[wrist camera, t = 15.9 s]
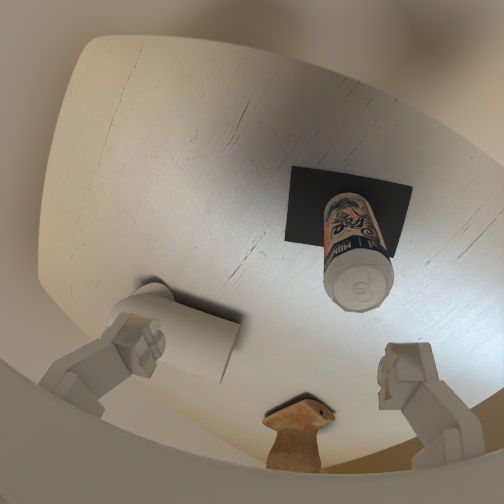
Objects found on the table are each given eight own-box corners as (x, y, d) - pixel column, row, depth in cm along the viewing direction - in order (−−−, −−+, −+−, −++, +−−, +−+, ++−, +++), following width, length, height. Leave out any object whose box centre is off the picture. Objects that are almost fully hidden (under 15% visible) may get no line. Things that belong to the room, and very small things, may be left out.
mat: (284, 240, 30) (284, 240, 30) (291, 165, 26) (291, 166, 26) (393, 256, 28) (393, 257, 28) (412, 186, 24) (412, 187, 24)
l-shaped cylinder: (152, 242, 33) (103, 311, 43) (120, 311, 25) (81, 363, 35) (263, 311, 40) (189, 357, 50) (260, 379, 32) (179, 408, 42)
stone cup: (300, 432, 53) (289, 492, 41) (256, 414, 52) (238, 478, 39) (352, 411, 45) (347, 483, 33) (305, 390, 44) (292, 471, 31)
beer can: (358, 182, 25) (381, 244, 15) (378, 223, 27) (405, 301, 17) (315, 204, 27) (309, 276, 17) (337, 242, 29) (341, 326, 19)
